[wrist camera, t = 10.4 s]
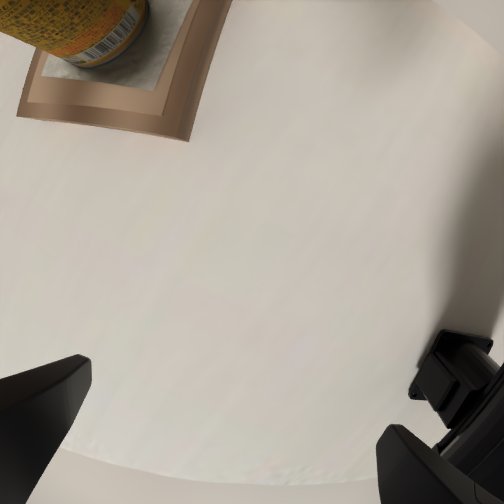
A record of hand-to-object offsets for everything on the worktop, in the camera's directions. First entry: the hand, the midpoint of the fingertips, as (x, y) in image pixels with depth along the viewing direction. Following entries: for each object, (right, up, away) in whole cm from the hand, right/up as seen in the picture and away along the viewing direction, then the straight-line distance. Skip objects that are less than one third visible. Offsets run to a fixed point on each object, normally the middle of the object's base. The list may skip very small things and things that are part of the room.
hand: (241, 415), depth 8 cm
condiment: (-8, +18, +6) cm, 20 cm away
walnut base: (-8, +18, +9) cm, 22 cm away
